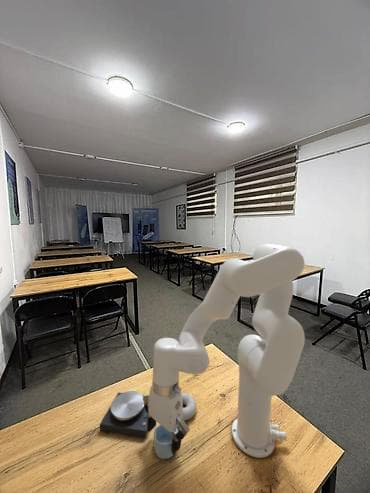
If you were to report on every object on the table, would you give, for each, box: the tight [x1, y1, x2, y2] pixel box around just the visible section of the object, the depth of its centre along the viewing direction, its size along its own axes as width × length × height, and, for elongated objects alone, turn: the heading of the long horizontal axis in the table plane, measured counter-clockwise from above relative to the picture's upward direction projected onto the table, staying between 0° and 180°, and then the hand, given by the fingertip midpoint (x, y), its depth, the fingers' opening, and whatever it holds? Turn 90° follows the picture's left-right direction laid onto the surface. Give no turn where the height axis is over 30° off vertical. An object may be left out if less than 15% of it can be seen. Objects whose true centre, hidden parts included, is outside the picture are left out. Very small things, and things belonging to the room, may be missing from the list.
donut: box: [181, 392, 197, 421], centre depth 74 cm, size 10×4×10 cm
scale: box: [99, 392, 149, 439], centre depth 71 cm, size 15×13×3 cm
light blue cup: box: [153, 423, 178, 460], centre depth 61 cm, size 7×7×4 cm
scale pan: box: [110, 390, 144, 420], centre depth 71 cm, size 11×11×1 cm
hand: (163, 438), depth 61 cm, fingers open, 9 cm apart
